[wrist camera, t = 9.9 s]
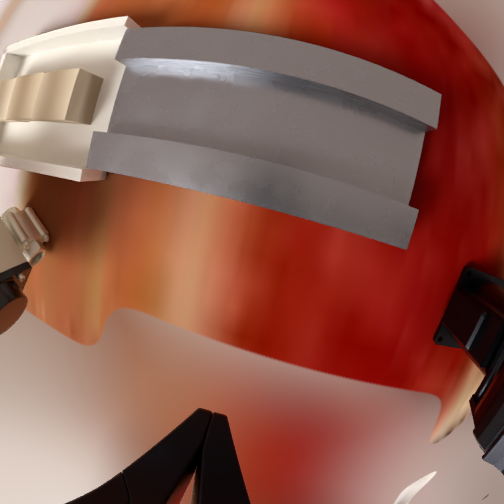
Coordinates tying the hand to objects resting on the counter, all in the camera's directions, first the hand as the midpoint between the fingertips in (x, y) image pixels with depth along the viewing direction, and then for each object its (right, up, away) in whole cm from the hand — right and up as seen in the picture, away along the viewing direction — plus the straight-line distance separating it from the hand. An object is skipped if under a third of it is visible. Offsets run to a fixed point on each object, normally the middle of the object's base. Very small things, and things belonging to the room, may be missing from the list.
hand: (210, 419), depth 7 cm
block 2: (-16, +17, +9) cm, 25 cm away
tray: (-16, +18, +10) cm, 25 cm away
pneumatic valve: (-19, +6, +13) cm, 24 cm away
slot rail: (+2, +13, +9) cm, 16 cm away
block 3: (-12, +16, +9) cm, 22 cm away
